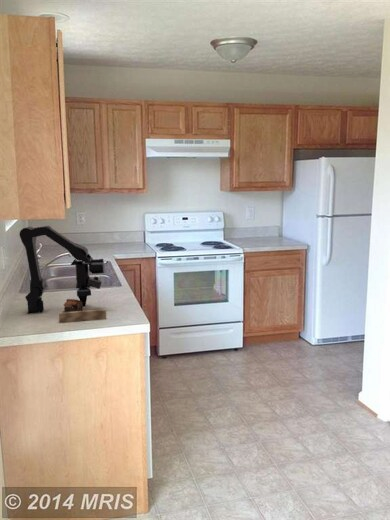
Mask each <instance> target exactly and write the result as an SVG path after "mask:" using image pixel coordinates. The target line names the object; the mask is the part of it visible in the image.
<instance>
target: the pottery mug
mask: <svg viewBox="0 0 390 520" xmlns="http://www.w3.org/2000/svg"><path fill="white" fill-rule="evenodd" d="M82 303H83V302H82V301H80V299H74V298H67V299H66V300H65V302H64V304H63V306H64V310H63V311H62V312H73V311H84V307H83V305H82Z"/></svg>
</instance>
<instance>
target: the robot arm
mask: <svg viewBox="0 0 390 520" xmlns="http://www.w3.org/2000/svg"><path fill="white" fill-rule="evenodd" d="M41 236H46V237H47V238H49V239H50V240H52V241H53V242H54V243H57V244H58V245H60V246H61V247H62V248H63V249H65V250H67V252H68V253H69V254H70V256H72V257H73V258H74V259H73V261H72V262H71V263H70V265H71V266H75V278H76V279H75V281H76V283H75V288H76V289H77V290H76V297H78V300H79V301H82V302H83V303H82V305H83V308H85V307H86V305H87V299H88V297H89V296H92V291H91V289H90V288H91V287H92V288H96V289H98V290H99V289H100V288H101V286H102V280H100V279H99V277H98V276H94V277H90V274H89V272H90V273H91V274H93V275H94V274H96V275H97V274H105V271H106V265H105V262H104V261H105V260H104V258H99V259H98V258H97V259H95V258H93V257H92V255H91V254H90V253H89V251H88V248H87V247H85V246H84V245H81V244H78V243H77V242H76V243H75V242H74V241H71V240H70V239H69V238H67V237H66V236H64V235H62V234H61V233H59V232H58V231H56V230H55V229H53V227H51V226H50V225H45V226H44V225H43V226H38V227H32V226H26V227H23V228H21V230H20V231H19V237H20V238H19V239H21V242H22V244H23V247H24V249H25V253H26V257H27V262H28V269H29V273H30V274H29V275H30V284H29V293H27V294H26V296H25V298H24V299H25V300H26V301H27V314H39V313H40V314H41V313H43V312H44V308H45V306H44V304H45V303H44V300H43V298H42V297H43V295H44V293H45V292H46V290H47V288H48V284H47V278H46V277H45V278H43V277H42V274H41V269H40V264H39V258H38V252H37V248H36V247H37V245H36V244H37V237H41Z"/></svg>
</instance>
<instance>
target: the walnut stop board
mask: <svg viewBox="0 0 390 520" xmlns="http://www.w3.org/2000/svg"><path fill="white" fill-rule="evenodd" d="M106 319H107V310H106V308H101V309H99V308H98V309H87V310H83V311H81V310H80V311H73V312H63V311H62V312H61V311H60V312H58V322H59V324H62V323H72V322H74V323H75V322H83V321H84V322H85V321H96V320H106Z"/></svg>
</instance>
